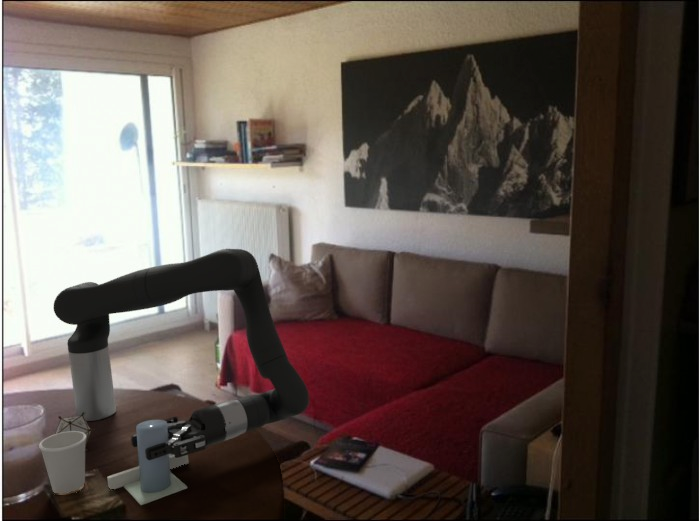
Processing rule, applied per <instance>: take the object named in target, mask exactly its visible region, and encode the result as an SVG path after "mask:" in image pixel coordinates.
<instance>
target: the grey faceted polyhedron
mask: <svg viewBox="0 0 700 521" xmlns="http://www.w3.org/2000/svg"><path fill="white" fill-rule="evenodd" d="M83 415H84V412H83V413H82V415H80V416H77V415H75V416H68V417H61V415H58V419H59V422H58V425H57V427H56V429H55V432H54V434H57V433H61V432H67V431H79V432H83V433H84V434H86V439H85V451H86V452H87V451H88V448H87V444H88V442H89V438H90V436H91V432H94V431H95V428H91V427H90V425H89V424H88V421H86V420H85V419H84V417H83Z"/></svg>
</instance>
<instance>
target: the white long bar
mask: <svg viewBox="0 0 700 521" xmlns="http://www.w3.org/2000/svg"><path fill="white" fill-rule="evenodd" d="M169 461H170V469H171V470H174V469H177V468H179V466H180V467H182V466H181V465H183V466H185V465H188V464H190V463H189V454H188V455H185V456H182V457H179V458H175V455H171V456H169ZM184 464H185V465H184ZM176 467H177V468H176ZM173 468H174V469H173ZM106 480H107V487H109V488H110V489H114V490H116V489H120V488H122V487H124V486H125V485H127V484H130V483H133V482H136V481H139V480H140V474H139V465H138V466H135V467H132V468H129V469H126V470H123V471H120V472H117V473H113V474H111V475H109V476H107V477H106Z"/></svg>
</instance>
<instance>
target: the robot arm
mask: <svg viewBox="0 0 700 521" xmlns="http://www.w3.org/2000/svg"><path fill="white" fill-rule="evenodd" d="M262 281H263V280H262V277H261V272H260V268H259V266H258V262H257V260H256V258H255V256H254V255H253V254H252V253H251V252H249V251H248V250H244V249H240V248H223V249H219V250H216V251H212V252H211V253H209V254H206V255H203V256H200V257H197V258H194V259H191V260H189V261H185V262H176V263H175V262H174V263H168V264H167V263H166V264H161V265H155V266H151V267H147V268H142V269H139V270H136V271H132V272H130V273H127V274H123V275H121V276H117V277H116V278H114V279H110V280H109V281H106V282H103V283H100V284H98V283H96V282H92V281H86V282H82V283H79V284H76V285H73V286H70V287H67V288H64V289H63V290H62V291H60V292H59V293H58V294H57V295H56V297H55V299H54V301H53V312H54V314H55V316H56V317H57V318H58V319H59V320H60V321H61V322H63V323H65V324H68V325H71V326H72V325H75V326H76V328H75V330H74V331H73V333H72V335H71V336H69V338H68V340H67V350H68V351H67V352H68V360H69V366H70V367H69V368H70V373H71V382H72V390H73V397H74V405H75V406H74V407H75V412H76V413H75V414H76V416H80V415H82V413H83V412H84V415H83V417H84V419H85V420H86V422H90V421H91V422H92V421H100V420H103V419H106V418H108V417H111V416H113V415H114V414H115V413H116V411H117V408H116V406H117V405H116V400H115V398H116V397H115V391H114V381H113V373H112V367H111V365H112V364H111V357H110V349H109V336H110V332H111V326H110V324H111V323H110V315H112V314H121V313H128V312H134V311H135V312H136V311H141V310H148V309H152V308H158V307H162V306H165V305H168V304H172V303H175V302H177V301H179V300H182V299H183V298H185V297H188V296H190V295H193V294H199V293H205V292H216V291H217V292H218V291H223V292H224V291H227V292H228V291H234V293H235V295H236V296H237V299H238V301H239V302H240V305H241V308H242V311H243V315H244V321H245V331H246V332H245V333H246V340H247V341H246V342H247V345H248V348H249V351H250V354H251V356H252V360H253V362H254V364H255V366H256V369H257V370H258V373H259V375H260V376H261V377H262V378H263V379H265V380H269V381H270V382H271V385H272V387H273V389H270V390H268V391H266V392H265V391H264V392H262V393H259V394H250V395H246V396H243V397H239V398H237V399H231V400H226V401H221V402H218V403H214V404H212V405H209V406H206V407H202V408H198V409H195V410H193V411H192V413H191V415H190V418H189V419H188V420H179V417H178V416H173V417H169V418H166V419H163V420H164V421H166V422H167V429H168V441H167V442H166V443H167V444H166V443H161V444H158V445H155V446H151V447H148V448H146V450H145V454H146V459H148V460H152V459H155V458H158V457H161V456H164V455H167V454H168V455H169V456H171V455H175V458H179V457H182V456H185V455H188V456H189V455H190V454H194V453H199V452H200V451H204V450H205V449H206V448H207V447H210V446H213V445H216V444H219V443H222V442H225V441H228V440H230V439H231V440H232V439H234V438H237V437H238V436H240V435H242V434H245V433H248V432H251V431H255V430H256V429H259V428H261V427H263V426H265V425H269V424H272V423H277V422H280V421H283V420H287V419H289V418H293V417H295V416H298V415H300V414H303V413H304V412H305V411H306V410H307V409H308V407H309V404H310V394H309V393H310V392H309V389H308V387H307V385H306V383H305V380H304V379H303V378H302V376H301V375H300V374H299V373H298V371H297V369H296V368H295V367H294V366H293V364H292V363H291V361H289V358H288V355H287V352H286V350H285V347H284V345H283V343H282V340H281V338H280V336H279V333H278V330H277V328H276V326H275V322H274V319H273V317H272V314H271V310H270V307H269V305H268V300H267V297H266V292H265V290H264V289H265V288H264V285H263V282H262ZM130 441H131V445H132V447H133V448H138V445H137V433H135V434H133V435H132V436H131V437H130Z"/></svg>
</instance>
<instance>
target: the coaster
mask: <svg viewBox="0 0 700 521" xmlns="http://www.w3.org/2000/svg"><path fill="white" fill-rule="evenodd" d="M170 477H171V485H170V486H169V487H168V488H166V489H164V490H161V491H158V492H145V491H142V490H141V488H140V480H139V481H136V482H133V483H130V484H127V485H125V486H123V488H124V489H125V490H126V491H127V492H128V493H129V494H130V495H131V496H132V498H133V499H134V500H135V501H136V502H137V503H138V504H139V505H140V506H143V505H146V504H149V503H151V502H154V501H157V500H159V499H162V498H164V497H167V496H170V495H172V494H175V493H178V492H181V491H183V490H186V489H188V486H187V485H186V484H185V483H184V482H182V481H181V479H179V478H178V477H177V476H176V475H175V474H174V473H172V471H170Z"/></svg>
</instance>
